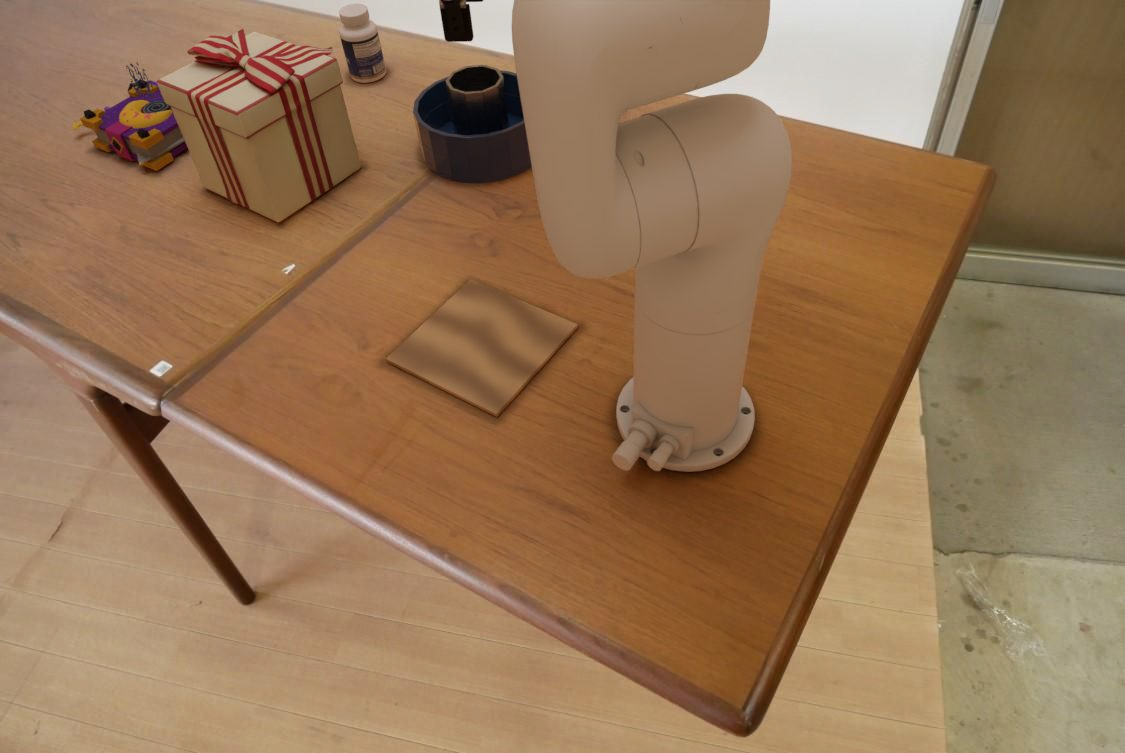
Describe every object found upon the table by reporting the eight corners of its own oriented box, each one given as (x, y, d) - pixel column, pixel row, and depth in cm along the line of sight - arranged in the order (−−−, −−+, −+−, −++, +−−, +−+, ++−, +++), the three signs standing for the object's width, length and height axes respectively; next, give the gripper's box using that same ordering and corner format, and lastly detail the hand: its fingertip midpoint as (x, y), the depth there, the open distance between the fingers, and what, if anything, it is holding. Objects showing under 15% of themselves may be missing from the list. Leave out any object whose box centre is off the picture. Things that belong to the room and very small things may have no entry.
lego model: (147, 94, 125) (110, 12, 116) (269, 135, 115) (238, 50, 106) (64, 143, 117) (17, 59, 107) (187, 192, 107) (147, 104, 98)
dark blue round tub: (496, 197, 103) (490, 151, 98) (397, 160, 109) (386, 115, 104) (569, 133, 111) (567, 88, 106) (473, 103, 118) (466, 59, 113)
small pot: (489, 163, 107) (480, 98, 100) (446, 148, 109) (434, 84, 103) (520, 137, 110) (514, 73, 103) (478, 123, 113) (468, 60, 106)
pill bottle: (348, 70, 126) (331, 5, 119) (383, 62, 127) (369, -2, 120) (353, 87, 123) (336, 21, 116) (389, 79, 124) (375, 13, 116)
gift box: (384, 151, 111) (353, 23, 98) (287, 230, 100) (238, 98, 88) (289, 121, 117) (248, -3, 104) (189, 192, 107) (130, 64, 94)
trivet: (497, 417, 79) (496, 414, 79) (386, 362, 85) (385, 358, 84) (578, 327, 87) (577, 324, 86) (471, 282, 92) (470, 278, 92)
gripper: (467, -116, 79) (488, 56, 92) (489, -174, 91) (505, -14, 103) (389, -113, 80) (421, 57, 93) (421, -172, 91) (445, -13, 104)
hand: (465, 19), depth 98 cm, fingers open, 9 cm apart
